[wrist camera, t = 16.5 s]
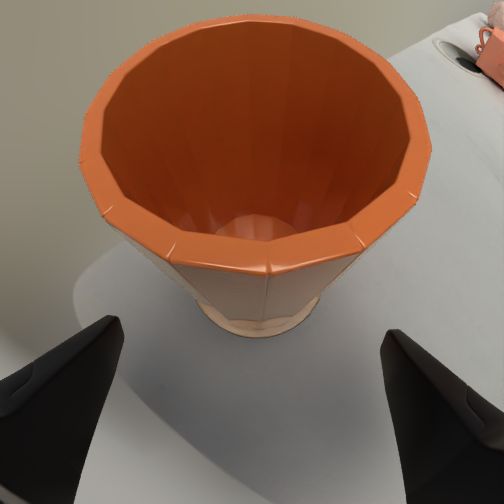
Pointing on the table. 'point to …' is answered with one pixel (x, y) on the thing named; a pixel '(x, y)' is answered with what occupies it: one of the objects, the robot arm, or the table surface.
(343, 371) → the table surface
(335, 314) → the table surface
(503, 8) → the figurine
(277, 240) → the cup
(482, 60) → the teapot
